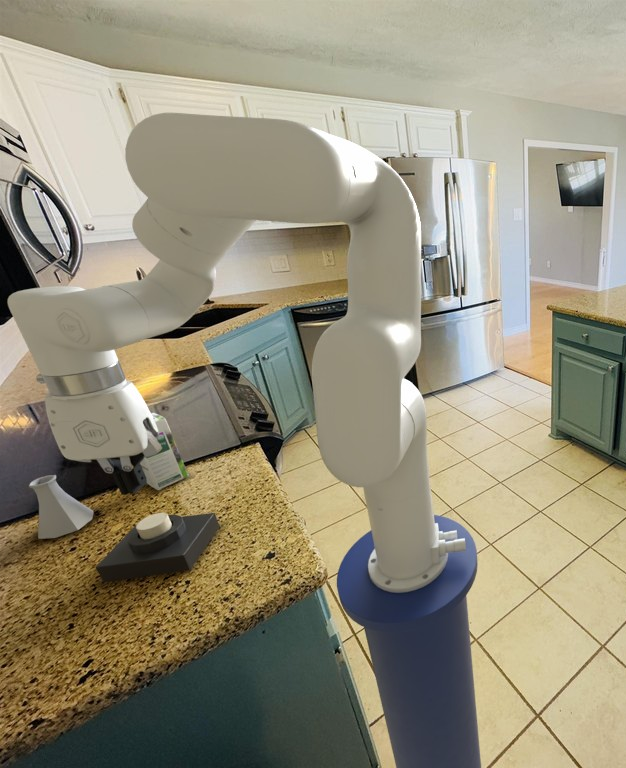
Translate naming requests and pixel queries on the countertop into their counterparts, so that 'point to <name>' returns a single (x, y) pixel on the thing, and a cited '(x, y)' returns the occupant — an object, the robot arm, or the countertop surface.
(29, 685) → the countertop surface
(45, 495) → the flask
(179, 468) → the syrup box
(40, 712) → the countertop surface
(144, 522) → the white push button
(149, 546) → the dark grey button base
